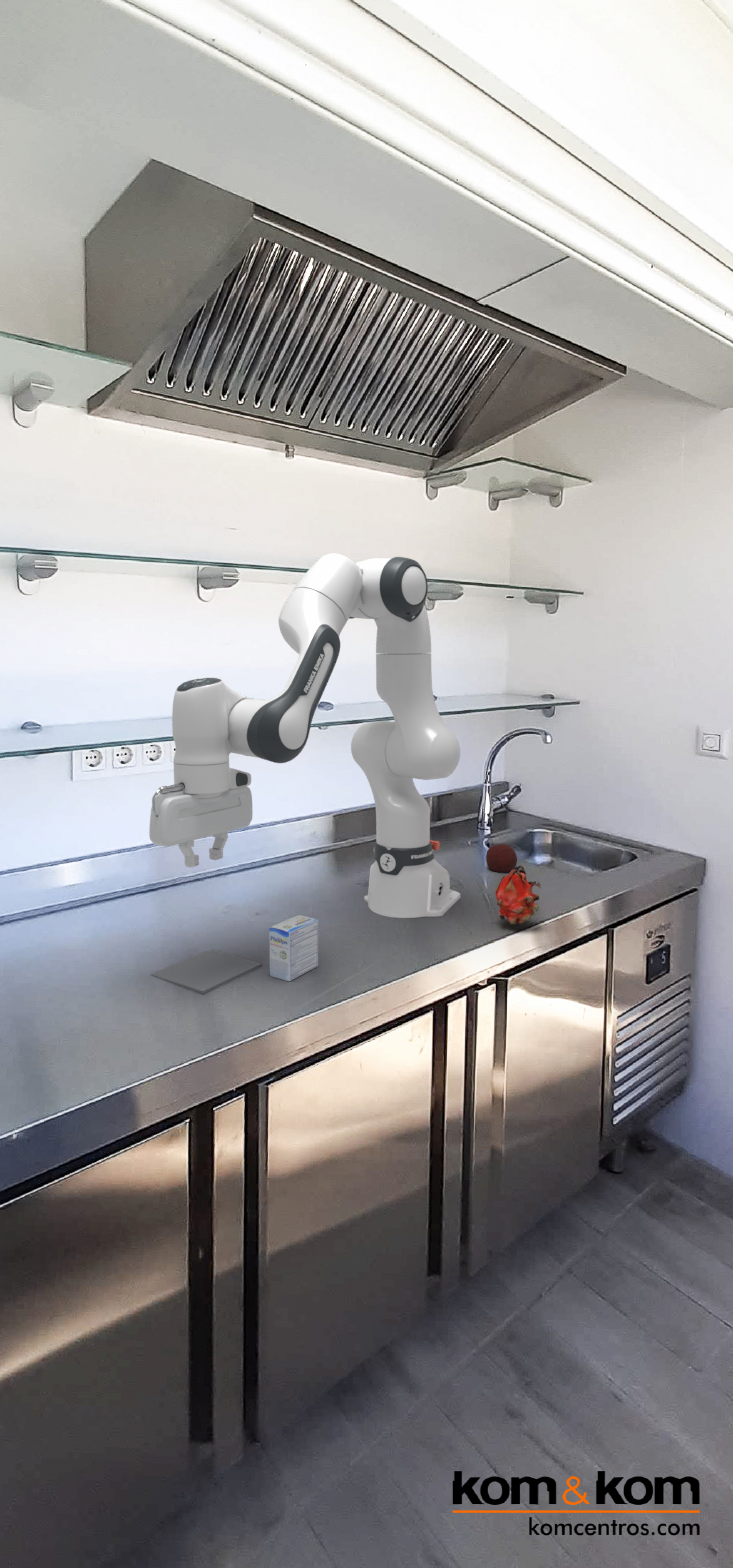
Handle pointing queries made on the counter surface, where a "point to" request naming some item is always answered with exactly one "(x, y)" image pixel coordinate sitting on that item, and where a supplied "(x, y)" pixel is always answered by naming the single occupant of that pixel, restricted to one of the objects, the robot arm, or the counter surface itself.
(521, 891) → the dragon fruit
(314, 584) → the robot arm
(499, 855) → the dark brown ball
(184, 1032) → the counter surface
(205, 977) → the mat
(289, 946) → the medicine box
